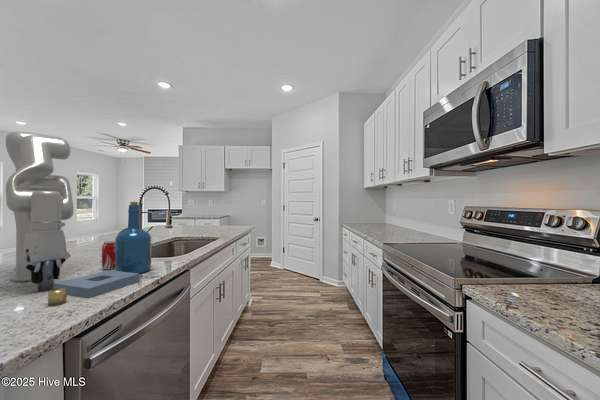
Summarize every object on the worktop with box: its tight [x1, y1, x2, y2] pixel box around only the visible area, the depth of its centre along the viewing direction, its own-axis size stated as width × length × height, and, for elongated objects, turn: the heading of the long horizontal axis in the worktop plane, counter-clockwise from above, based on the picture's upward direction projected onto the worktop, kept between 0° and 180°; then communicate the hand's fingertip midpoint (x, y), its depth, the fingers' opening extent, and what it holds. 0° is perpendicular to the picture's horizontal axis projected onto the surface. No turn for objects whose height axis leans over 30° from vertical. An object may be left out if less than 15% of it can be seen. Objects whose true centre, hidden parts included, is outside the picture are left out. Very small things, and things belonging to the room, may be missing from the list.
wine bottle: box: [114, 201, 152, 275], centre depth 114 cm, size 14×13×30 cm
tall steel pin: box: [37, 260, 55, 293], centre depth 90 cm, size 4×4×10 cm
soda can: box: [101, 240, 115, 271], centre depth 119 cm, size 7×7×12 cm
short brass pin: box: [47, 288, 67, 307], centre depth 78 cm, size 4×4×4 cm
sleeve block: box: [54, 270, 141, 299], centre depth 94 cm, size 16×18×3 cm
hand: (45, 280), depth 90 cm, fingers open, 4 cm apart
